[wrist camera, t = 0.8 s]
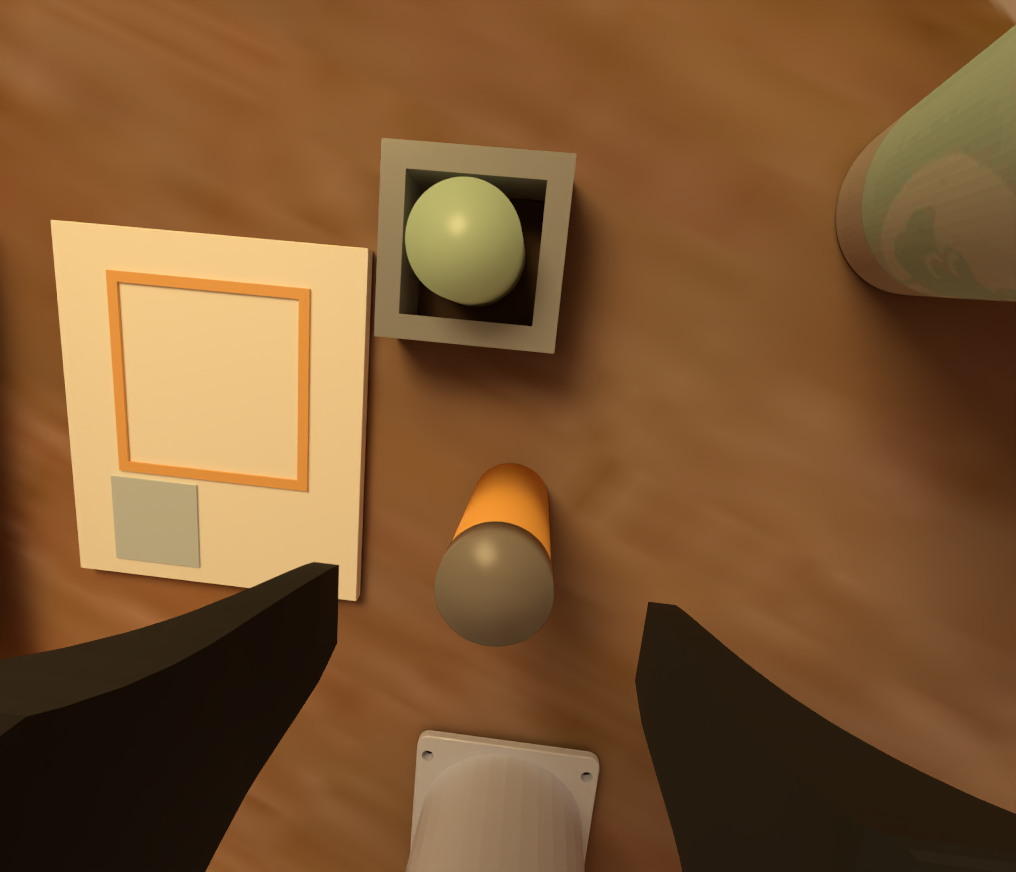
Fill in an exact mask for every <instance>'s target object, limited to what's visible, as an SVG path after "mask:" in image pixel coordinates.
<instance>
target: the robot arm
mask: <svg viewBox="0 0 1016 872" xmlns="http://www.w3.org/2000/svg"><path fill="white" fill-rule="evenodd" d="M338 587H339V565H335V564H327V563H319V562H312V563H309V564H306V565H303V566H300V567H298V568H295V569H293V570H290V571H288V572H286V573H283V574H281V575H279V576H276V577H274V578H272V579H270V580H267V581H265V582H263V583H260V584H258V585H256V586H254V587H251V588H249V589H247V590H244V591H242V592H240V593H237V594H235V595H232V596H230V597H227V598H225V599H222V600H220V601H217V602H215V603H212V604H210V605H207V606H205V607H202V608H200V609H197V610H194V611H192V612H189V613H186V614H184V615H181V616H178V617H175V618H172V619H169V620H166V621H163V622H160V623H156V624H153V625H150V626H147V627H143V628H140V629H137V630H133V631H130V632H126V633H123V634H119V635H115V636H111V637H107V638H102V639H98V640H94V641H90V642H86V643H82V644H78V645H74V646H70V647H66V648H61V649H56V650H51V651H46V652H41V653H36V654H31V655H26V656H20V657H15V658H9V659H3V660H0V872H205V871H206V869H207V867H208V865H209V863H210V861H211V859H212V857H213V855H214V854H215V852H216V850H217V848H218V846H219V844H220V842H221V840H222V838H223V836H224V835H225V833H226V831H227V829H228V827H229V825H230V823H231V821H232V820H233V818H234V816H235V814H236V812H237V810H238V808H239V806H240V805H241V803H242V801H243V799H244V797H245V795H246V794H247V792H248V790H249V789H250V787H251V785H252V784H253V782H254V780H255V779H256V777H257V775H258V774H259V772H260V771H261V769H262V768H263V766H264V765H265V763H266V762H267V760H268V759H269V757H270V755H271V754H272V752H273V751H274V749H275V748H276V746H277V745H278V743H279V742H280V740H281V739H282V737H283V736H284V734H285V733H286V731H287V730H288V728H289V727H290V725H291V724H292V722H293V721H294V719H295V718H296V716H297V714H298V713H299V711H300V710H301V708H302V707H303V705H304V704H305V702H306V701H307V699H308V698H309V696H310V694H311V693H312V691H313V690H314V688H315V687H316V685H317V683H318V682H319V680H320V678H321V676H322V674H323V672H324V670H325V668H326V666H327V664H328V661H329V659H330V657H331V655H332V653H333V651H334V648H335V646H336V644H337V625H338ZM635 683H636V690H637V696H638V703H639V709H640V715H641V721H642V726H643V730H644V733H645V737H646V740H647V744H648V747H649V751H650V754H651V758H652V761H653V765H654V768H655V772H656V775H657V778H658V782H659V785H660V789H661V792H662V795H663V799H664V802H665V806H666V809H667V812H668V816H669V819H670V823H671V826H672V829H673V833H674V837H675V841H676V845H677V849H678V853H679V857H680V862H681V867H682V872H1016V814H1014V813H1012V812H1010V811H1007V810H1005V809H1002V808H1000V807H998V806H995V805H993V804H990V803H988V802H985V801H983V800H981V799H978V798H976V797H974V796H972V795H969V794H967V793H965V792H963V791H961V790H959V789H956V788H954V787H952V786H950V785H948V784H946V783H944V782H942V781H940V780H937V779H935V778H933V777H931V776H929V775H927V774H925V773H923V772H921V771H919V770H917V769H915V768H913V767H911V766H909V765H907V764H905V763H903V762H901V761H899V760H897V759H895V758H893V757H891V756H889V755H887V754H886V753H884V752H882V751H880V750H878V749H877V748H875V747H873V746H871V745H869V744H868V743H866V742H864V741H862V740H860V739H859V738H857V737H855V736H853V735H851V734H850V733H848V732H846V731H845V730H843V729H841V728H840V727H838V726H836V725H835V724H833V723H831V722H830V721H828V720H826V719H825V718H823V717H822V716H820V715H819V714H817V713H816V712H814V711H812V710H811V709H809V708H808V707H806V706H805V705H803V704H802V703H800V702H799V701H797V700H796V699H794V698H793V697H791V696H790V695H788V694H787V693H785V692H784V691H783V690H781V689H780V688H778V687H777V686H776V685H774V684H773V683H772V682H770V681H769V680H768V679H766V678H765V677H764V676H762V675H761V674H760V673H758V672H757V671H756V670H754V669H753V668H752V667H751V666H749V665H748V664H747V663H745V662H744V661H743V660H742V659H740V658H739V657H738V656H737V655H736V654H734V653H733V652H732V651H731V650H729V649H728V648H727V647H726V646H725V645H723V644H722V643H721V642H720V641H719V640H718V639H716V638H715V637H714V636H713V635H712V634H711V633H709V632H708V631H707V630H706V629H705V628H703V627H702V626H701V625H700V624H699V623H698V622H696V621H695V620H694V619H693V618H692V617H690V616H689V615H688V614H687V613H686V612H684V611H683V610H682V609H680V608H679V607H678V606H676V605H670V604H662V603H653V602H648V608H647V614H646V619H645V625H644V631H643V637H642V643H641V649H640V655H639V661H638V667H637V673H636V679H635ZM426 751H430V752H432V753H430V754H429V753H427V752H426ZM584 772H588V773H590V774H587V775H585V774H583V773H584ZM598 775H599V759H598V757H597V755H595V754H594V753H592V752H589V751H582V750H575V749H567V748H560V747H552V746H545V745H537V744H530V743H522V742H515V741H507V740H500V739H492V738H485V737H477V736H470V735H462V734H455V733H447V732H440V731H432V730H426V731H424V732H422V733H421V735H420V737H419V740H418V744H417V758H416V773H415V788H414V803H413V818H412V833H411V848H410V856H409V860H408V864H407V868H406V872H585V867H584V864H585V858H586V851H587V845H588V838H589V832H590V826H591V819H592V813H593V807H594V800H595V794H596V788H597V781H598Z"/></svg>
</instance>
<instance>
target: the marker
mask: <svg viewBox="0 0 1016 872" xmlns="http://www.w3.org/2000/svg"><path fill="white" fill-rule="evenodd" d="M434 595H435V601H436V604H437V607H438V610H439V612H440V614H441V616H442V617H443V619H444V620H445V622H446V623H447V624H448V626H449V627H450V628H452V629H453V630H454V631H455V632H456V633H457V634H459V635H460V636H462V637H463V638H465V639H467V640H469V641H471V642H474V643H477V644H480V645H485V646H494V647H499V646H508V645H513V644H516V643H519V642H521V641H524V640H526V639H527V638H529V637H531V636H532V635H533V634H535V633H536V632H537V631H538V630H539V629H540V628H541V627H542V626H543V625H544V623H545V622H546V620H547V619H548V617H549V615H550V612H551V610H552V606H553V601H554V579H553V567H552V562H551V551H550V527H549V503H548V492H547V489H546V486H545V484H544V482H543V480H542V479H541V478H540V476H539V475H538V474H537V473H535V472H534V471H533V470H531V469H530V468H528V467H526V466H523V465H520V464H515V463H506V464H501V465H497V466H495V467H493V468H491V469H489V470H488V471H487V472H485V473H484V474H483V475H482V477H481V478H480V479H479V481H478V483H477V485H476V487H475V490H474V492H473V494H472V496H471V499H470V501H469V503H468V506H467V508H466V510H465V513H464V515H463V517H462V520H461V522H460V524H459V527H458V529H457V531H456V534H455V536H454V538H453V541H452V542H451V544H450V545H449V547H448V548H447V550H446V553H445V555H444V557H443V559H442V562H441V564H440V566H439V568H438V571H437V574H436V577H435V583H434Z"/></svg>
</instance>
